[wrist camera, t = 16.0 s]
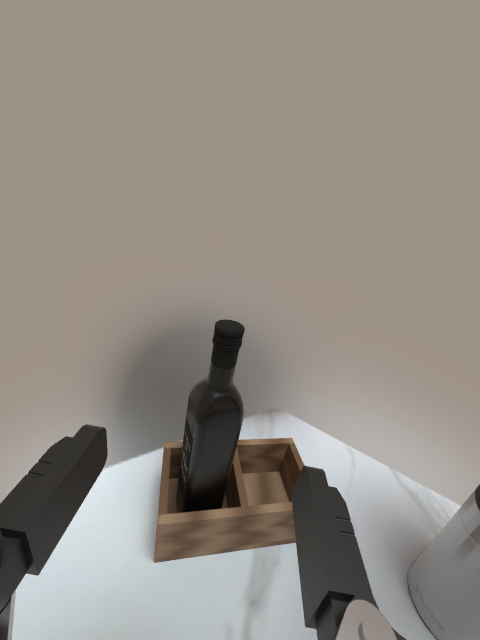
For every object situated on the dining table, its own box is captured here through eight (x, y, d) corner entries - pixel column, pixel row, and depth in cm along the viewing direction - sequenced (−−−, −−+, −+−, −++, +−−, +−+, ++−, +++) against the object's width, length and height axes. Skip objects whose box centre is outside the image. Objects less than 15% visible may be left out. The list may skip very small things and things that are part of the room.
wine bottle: (180, 536, 34) (210, 340, 22) (174, 494, 39) (196, 313, 27) (221, 523, 36) (267, 338, 25) (210, 484, 41) (245, 314, 29)
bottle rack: (280, 469, 47) (292, 438, 44) (305, 540, 37) (322, 506, 34) (161, 477, 42) (164, 442, 39) (154, 562, 32) (157, 524, 29)
